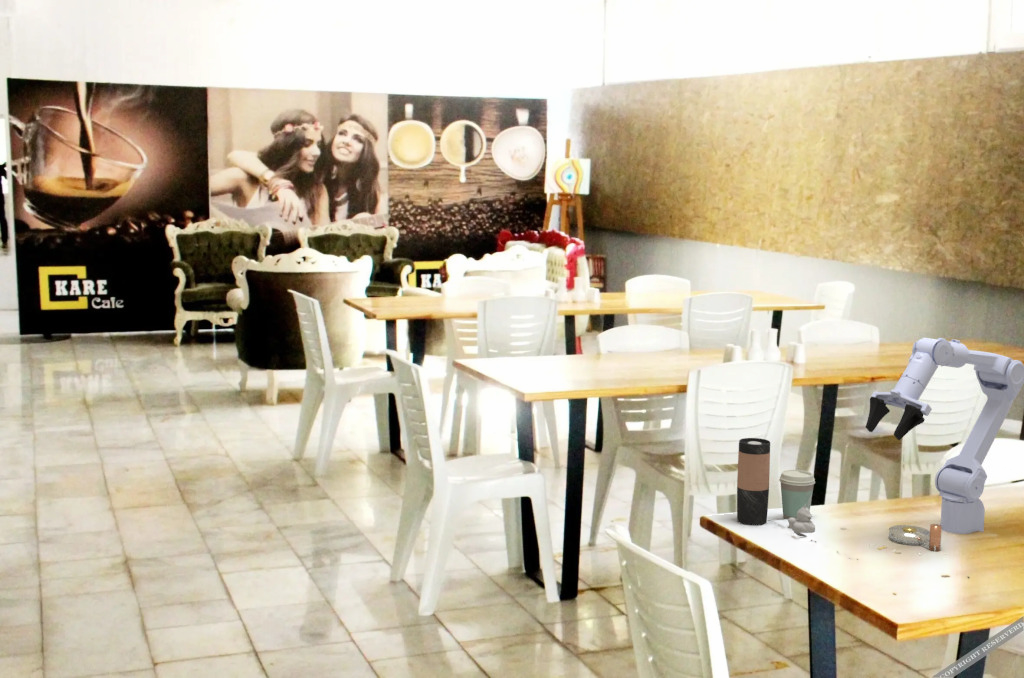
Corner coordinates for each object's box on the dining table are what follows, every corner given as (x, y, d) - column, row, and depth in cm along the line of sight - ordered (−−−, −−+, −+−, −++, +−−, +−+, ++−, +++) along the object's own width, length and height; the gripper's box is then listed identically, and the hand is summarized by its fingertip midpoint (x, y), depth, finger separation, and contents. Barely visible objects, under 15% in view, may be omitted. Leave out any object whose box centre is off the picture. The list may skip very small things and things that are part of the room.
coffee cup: (814, 527, 283) (816, 478, 282) (778, 525, 285) (779, 476, 283) (812, 517, 292) (814, 470, 290) (777, 515, 293) (779, 468, 292)
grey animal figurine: (809, 540, 273) (810, 507, 272) (782, 535, 277) (784, 502, 276) (818, 535, 277) (820, 502, 276) (792, 530, 281) (793, 497, 280)
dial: (880, 536, 271) (881, 513, 271) (910, 531, 275) (911, 508, 274) (922, 553, 259) (923, 529, 258) (954, 548, 263) (955, 524, 262)
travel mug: (774, 522, 287) (777, 442, 284) (752, 527, 283) (755, 446, 280) (751, 515, 293) (753, 436, 290) (729, 520, 289) (731, 440, 286)
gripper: (877, 367, 267) (848, 416, 264) (932, 379, 255) (901, 431, 252) (891, 385, 271) (862, 433, 268) (945, 398, 259) (915, 448, 256)
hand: (882, 433), depth 260 cm, fingers open, 7 cm apart
